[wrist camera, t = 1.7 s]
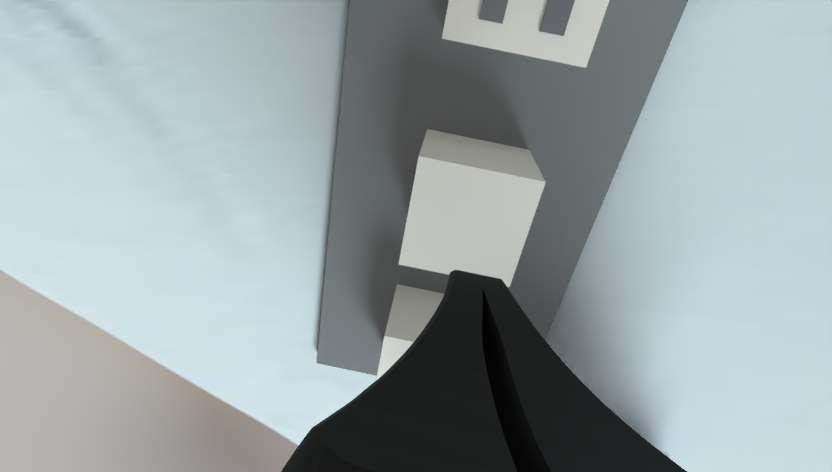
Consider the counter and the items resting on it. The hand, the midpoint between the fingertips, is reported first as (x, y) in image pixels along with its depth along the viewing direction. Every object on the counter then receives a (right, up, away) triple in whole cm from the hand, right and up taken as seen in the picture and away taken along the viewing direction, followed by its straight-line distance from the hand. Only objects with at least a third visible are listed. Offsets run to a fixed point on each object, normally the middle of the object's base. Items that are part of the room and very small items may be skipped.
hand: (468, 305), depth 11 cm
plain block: (+1, +4, +8) cm, 9 cm away
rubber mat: (+1, +4, +8) cm, 9 cm away
